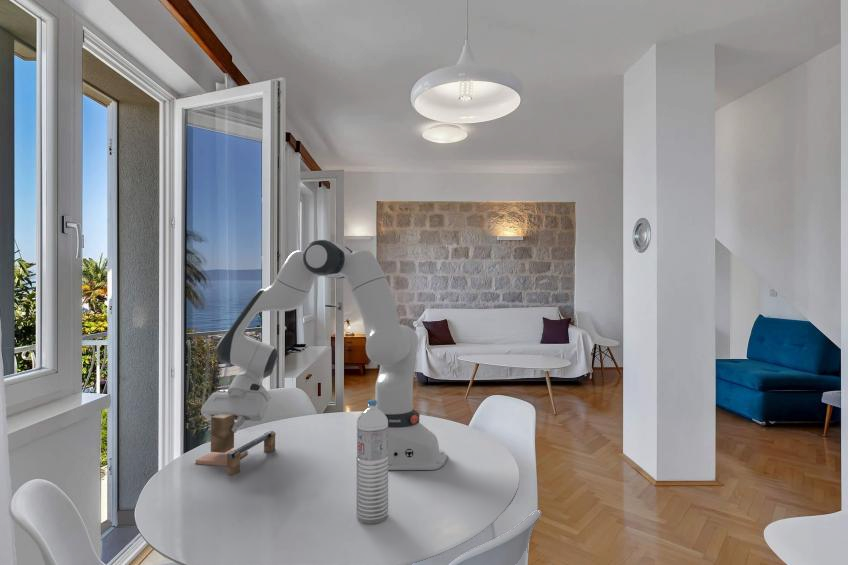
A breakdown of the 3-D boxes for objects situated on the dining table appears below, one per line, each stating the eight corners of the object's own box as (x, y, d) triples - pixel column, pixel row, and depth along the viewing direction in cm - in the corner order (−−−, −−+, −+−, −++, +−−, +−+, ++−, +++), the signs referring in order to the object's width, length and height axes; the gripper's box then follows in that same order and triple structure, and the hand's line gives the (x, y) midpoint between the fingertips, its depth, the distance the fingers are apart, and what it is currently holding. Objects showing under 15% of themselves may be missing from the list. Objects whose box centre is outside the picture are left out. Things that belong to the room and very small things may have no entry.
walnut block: (233, 447, 134) (234, 414, 134) (224, 452, 129) (224, 418, 130) (220, 446, 135) (221, 413, 135) (210, 451, 130) (211, 417, 131)
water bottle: (386, 525, 93) (386, 404, 93) (353, 525, 93) (353, 404, 94) (389, 509, 99) (389, 397, 100) (359, 509, 100) (359, 397, 100)
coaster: (247, 453, 136) (247, 450, 136) (226, 466, 126) (226, 462, 126) (218, 451, 138) (218, 448, 138) (195, 463, 128) (195, 460, 128)
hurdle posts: (275, 449, 140) (275, 432, 140) (235, 475, 120) (235, 454, 120) (267, 449, 140) (267, 431, 140) (226, 474, 120) (226, 453, 120)
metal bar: (273, 434, 140) (274, 431, 140) (232, 458, 120) (232, 454, 120) (270, 434, 140) (270, 430, 140) (228, 458, 120) (228, 453, 120)
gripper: (209, 384, 142) (187, 423, 132) (267, 386, 138) (249, 427, 128) (218, 395, 146) (197, 434, 137) (275, 398, 142) (257, 438, 132)
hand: (223, 431), depth 132 cm, fingers closed on walnut block, 4 cm apart
